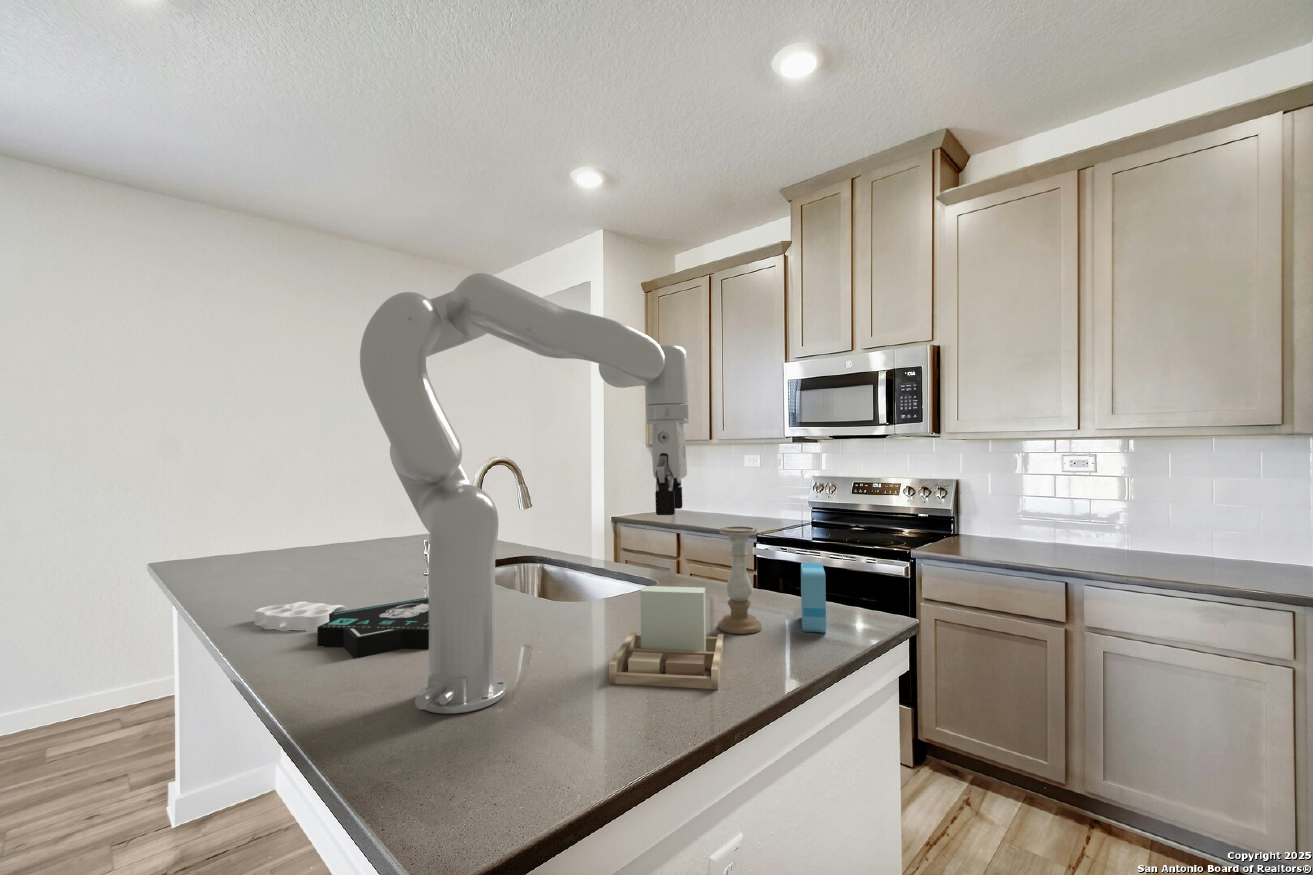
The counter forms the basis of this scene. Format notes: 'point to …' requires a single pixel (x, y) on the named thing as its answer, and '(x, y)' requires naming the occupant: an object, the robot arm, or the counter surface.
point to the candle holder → (739, 584)
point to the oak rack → (634, 645)
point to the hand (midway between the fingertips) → (669, 511)
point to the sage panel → (673, 618)
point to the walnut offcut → (685, 665)
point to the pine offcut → (646, 663)
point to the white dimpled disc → (295, 615)
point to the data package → (813, 597)
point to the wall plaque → (378, 628)
